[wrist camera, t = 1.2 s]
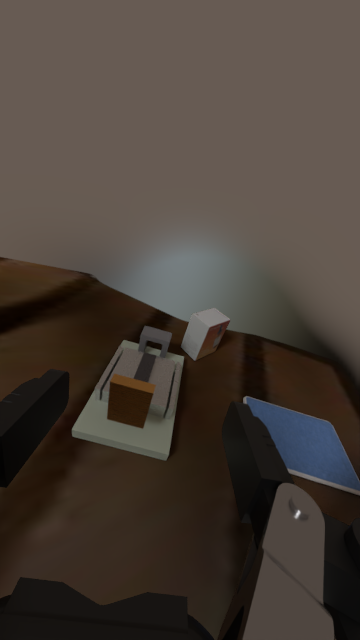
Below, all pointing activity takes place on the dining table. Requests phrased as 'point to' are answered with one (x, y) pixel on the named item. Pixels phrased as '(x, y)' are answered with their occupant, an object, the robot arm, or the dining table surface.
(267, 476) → the robot arm
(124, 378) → the brown l-shaped piece
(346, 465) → the tablet computer
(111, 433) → the socket board
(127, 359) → the grey slotted block
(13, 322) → the dining table surface
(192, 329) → the small box
